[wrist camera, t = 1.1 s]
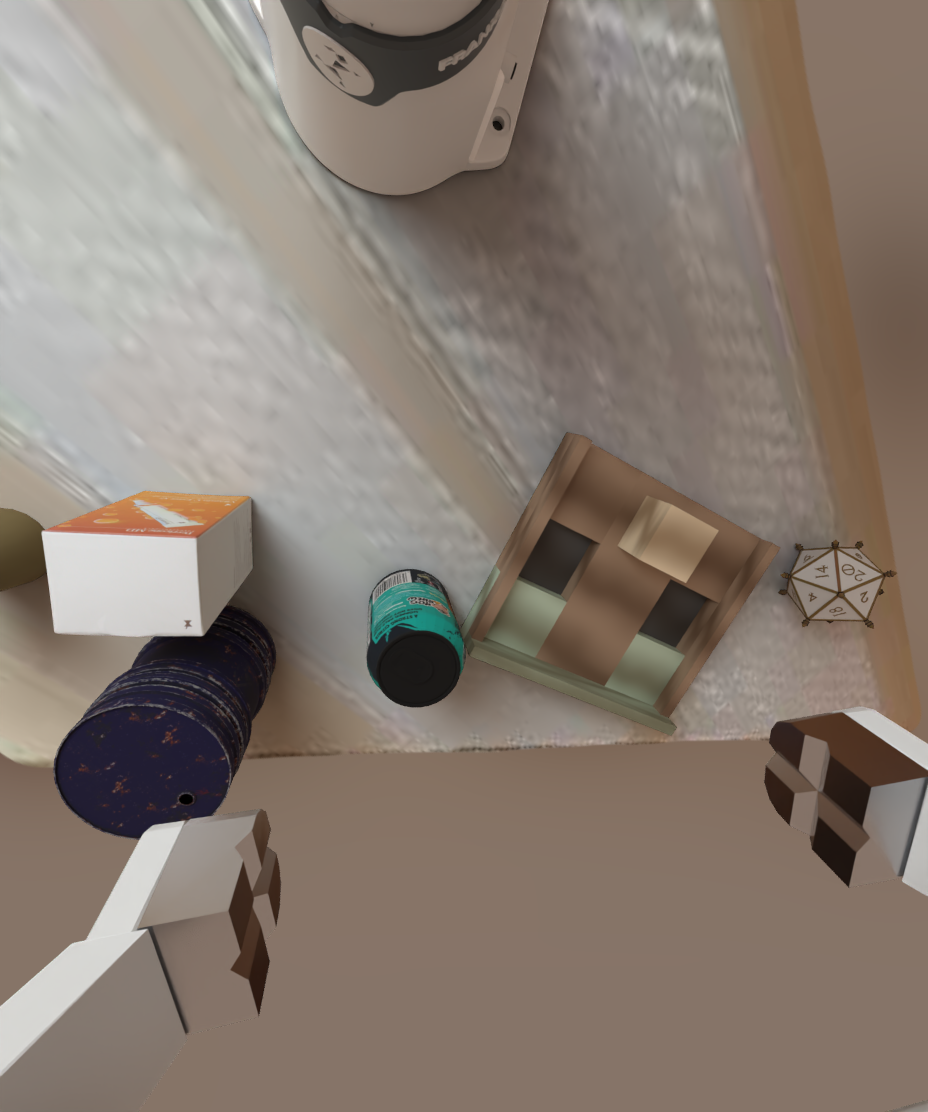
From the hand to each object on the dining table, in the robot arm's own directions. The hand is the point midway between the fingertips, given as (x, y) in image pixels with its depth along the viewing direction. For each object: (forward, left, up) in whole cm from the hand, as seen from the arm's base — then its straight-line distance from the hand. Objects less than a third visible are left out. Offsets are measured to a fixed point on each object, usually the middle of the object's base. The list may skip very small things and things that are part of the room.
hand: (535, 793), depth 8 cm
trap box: (+1, +22, -37) cm, 43 cm away
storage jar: (+22, -8, -37) cm, 43 cm away
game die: (-8, +40, -37) cm, 55 cm away
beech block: (-5, +22, -35) cm, 41 cm away
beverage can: (+11, +5, -37) cm, 39 cm away
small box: (+12, -13, -37) cm, 41 cm away
